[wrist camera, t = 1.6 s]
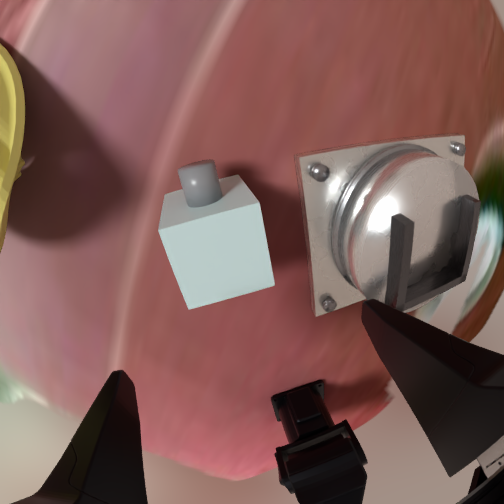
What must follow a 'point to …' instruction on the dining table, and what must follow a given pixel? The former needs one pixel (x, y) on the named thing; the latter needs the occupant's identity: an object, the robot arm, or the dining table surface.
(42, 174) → the dining table surface
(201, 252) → the block with peg
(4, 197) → the plastic component
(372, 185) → the metal mounting base
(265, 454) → the dining table surface
